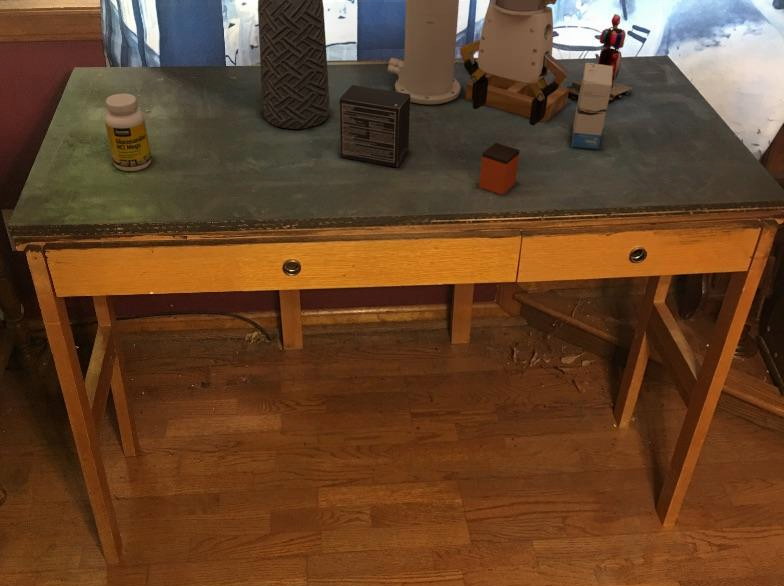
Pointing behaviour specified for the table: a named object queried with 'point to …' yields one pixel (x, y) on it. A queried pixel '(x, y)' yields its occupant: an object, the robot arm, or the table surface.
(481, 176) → the orange block
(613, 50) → the statue
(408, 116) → the small box
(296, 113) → the vase
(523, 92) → the wooden compartment tray
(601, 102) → the ink box
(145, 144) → the pill bottle
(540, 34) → the robot arm
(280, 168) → the table surface
